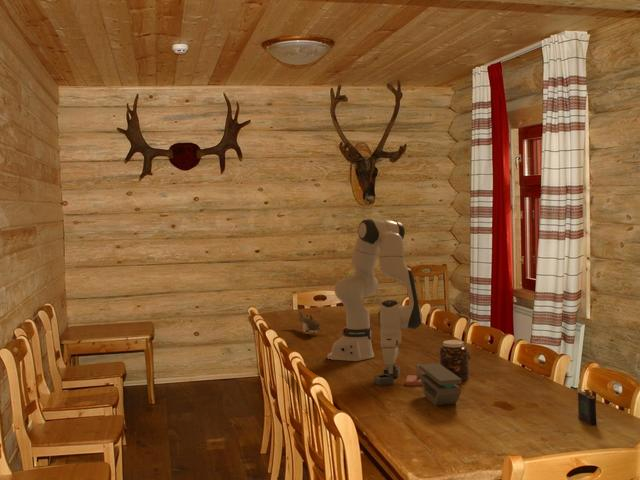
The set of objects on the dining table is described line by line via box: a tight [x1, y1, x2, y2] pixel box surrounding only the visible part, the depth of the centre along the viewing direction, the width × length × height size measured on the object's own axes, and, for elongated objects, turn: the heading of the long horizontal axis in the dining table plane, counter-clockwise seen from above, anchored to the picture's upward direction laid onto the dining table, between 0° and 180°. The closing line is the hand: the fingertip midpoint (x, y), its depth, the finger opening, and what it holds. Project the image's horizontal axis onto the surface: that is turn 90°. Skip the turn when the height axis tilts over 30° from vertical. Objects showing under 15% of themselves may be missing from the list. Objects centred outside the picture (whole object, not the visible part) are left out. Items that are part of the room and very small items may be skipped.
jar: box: [439, 339, 470, 382], centre depth 295 cm, size 12×12×15 cm
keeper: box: [404, 364, 423, 387], centre depth 291 cm, size 10×10×7 cm
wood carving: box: [297, 309, 322, 333], centre depth 406 cm, size 9×35×11 cm, turn 18°
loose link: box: [373, 373, 394, 387], centre depth 291 cm, size 6×6×3 cm
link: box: [383, 365, 401, 378], centre depth 303 cm, size 6×6×3 cm
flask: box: [577, 388, 598, 427], centre depth 234 cm, size 9×3×11 cm, turn 8°
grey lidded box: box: [418, 362, 463, 407], centre depth 264 cm, size 25×8×11 cm, turn 9°
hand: (391, 371), depth 303 cm, fingers closed on link, 6 cm apart
